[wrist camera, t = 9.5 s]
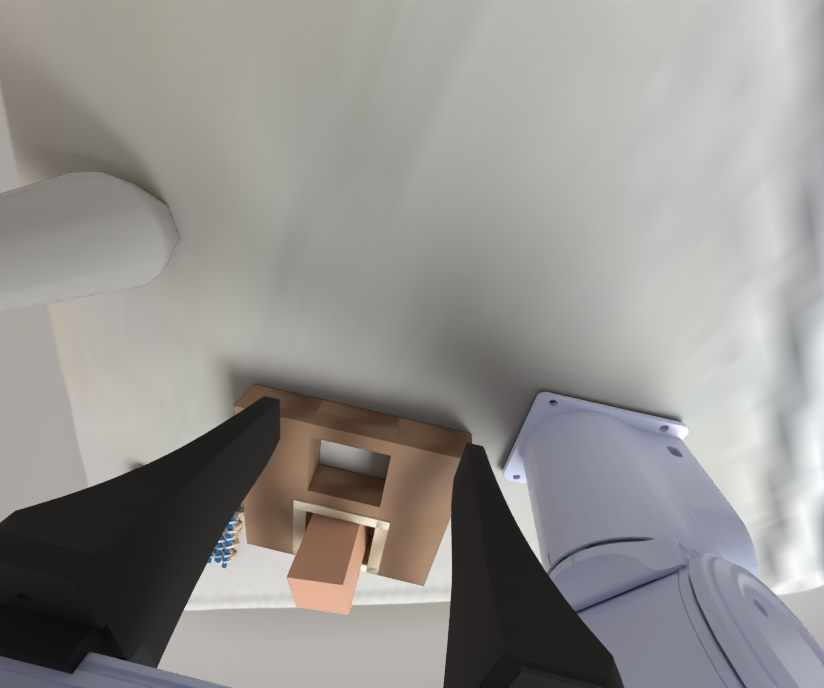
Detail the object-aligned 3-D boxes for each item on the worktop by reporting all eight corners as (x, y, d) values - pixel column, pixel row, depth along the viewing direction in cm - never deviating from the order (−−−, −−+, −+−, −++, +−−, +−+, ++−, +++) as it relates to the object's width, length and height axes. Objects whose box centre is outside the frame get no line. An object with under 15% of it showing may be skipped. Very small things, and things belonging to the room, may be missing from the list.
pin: (367, 495, 30) (343, 585, 24) (371, 525, 32) (348, 614, 25) (322, 491, 30) (286, 577, 24) (328, 520, 32) (296, 607, 26)
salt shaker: (212, 232, 20) (-112, 338, 9) (165, 290, 22) (-138, 434, 11) (120, 143, 18) (-428, 132, 7) (81, 216, 21) (-381, 297, 9)
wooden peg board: (471, 434, 25) (472, 462, 23) (426, 557, 33) (423, 587, 30) (253, 383, 25) (232, 406, 23) (261, 517, 33) (246, 544, 31)
